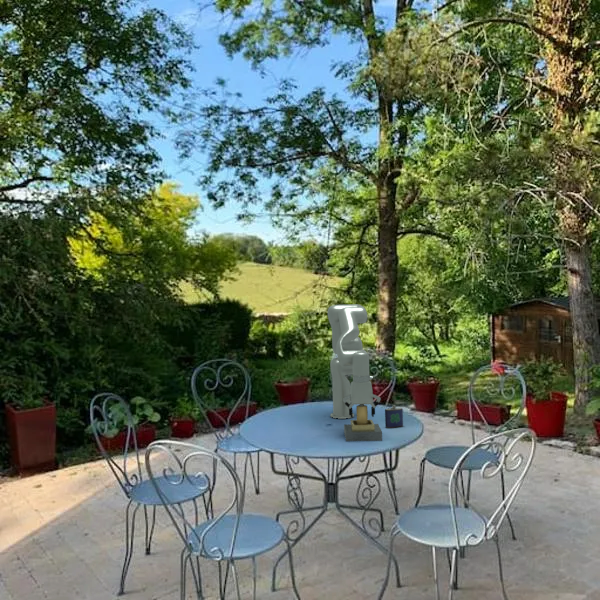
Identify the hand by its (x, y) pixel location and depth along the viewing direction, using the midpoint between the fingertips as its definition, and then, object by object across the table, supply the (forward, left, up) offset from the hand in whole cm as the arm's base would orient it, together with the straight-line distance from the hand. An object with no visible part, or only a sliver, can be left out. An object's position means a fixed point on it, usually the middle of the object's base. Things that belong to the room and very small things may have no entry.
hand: (362, 416), depth 243 cm
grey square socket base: (0, 0, -9) cm, 9 cm away
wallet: (-16, +17, -9) cm, 25 cm away
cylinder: (0, 0, -5) cm, 5 cm away
